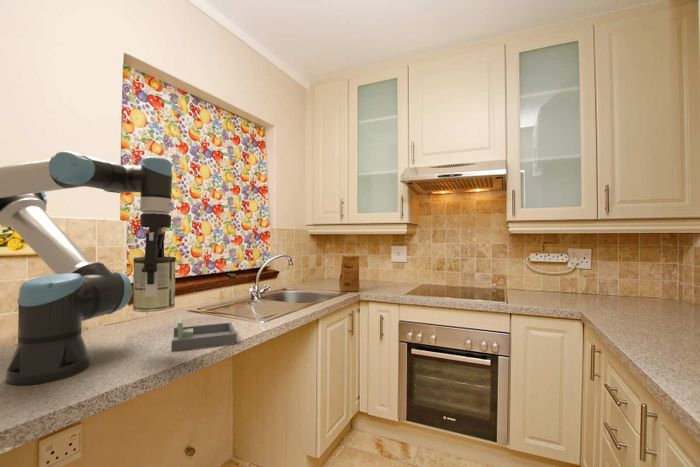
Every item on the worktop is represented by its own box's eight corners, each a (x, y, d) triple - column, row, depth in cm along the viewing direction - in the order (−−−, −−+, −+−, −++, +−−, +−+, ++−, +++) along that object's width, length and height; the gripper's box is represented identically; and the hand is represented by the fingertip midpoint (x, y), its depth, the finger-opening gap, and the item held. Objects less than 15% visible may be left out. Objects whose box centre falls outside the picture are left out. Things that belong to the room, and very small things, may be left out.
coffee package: (339, 289, 211) (339, 255, 211) (358, 289, 212) (359, 255, 212) (339, 292, 201) (340, 256, 201) (359, 292, 202) (360, 256, 202)
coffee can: (127, 307, 92) (128, 257, 93) (167, 302, 100) (168, 255, 100) (138, 314, 85) (139, 259, 85) (180, 308, 93) (181, 257, 93)
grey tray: (171, 351, 97) (171, 340, 97) (173, 336, 110) (174, 327, 110) (236, 343, 104) (236, 333, 105) (231, 330, 118) (231, 322, 118)
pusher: (177, 346, 99) (177, 323, 99) (178, 335, 110) (179, 314, 110) (192, 345, 101) (193, 322, 101) (192, 334, 111) (193, 313, 111)
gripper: (165, 211, 84) (163, 299, 84) (175, 216, 105) (174, 286, 105) (130, 210, 81) (128, 301, 81) (148, 215, 102) (146, 287, 102)
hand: (154, 293), depth 93 cm, fingers closed on coffee can, 10 cm apart
